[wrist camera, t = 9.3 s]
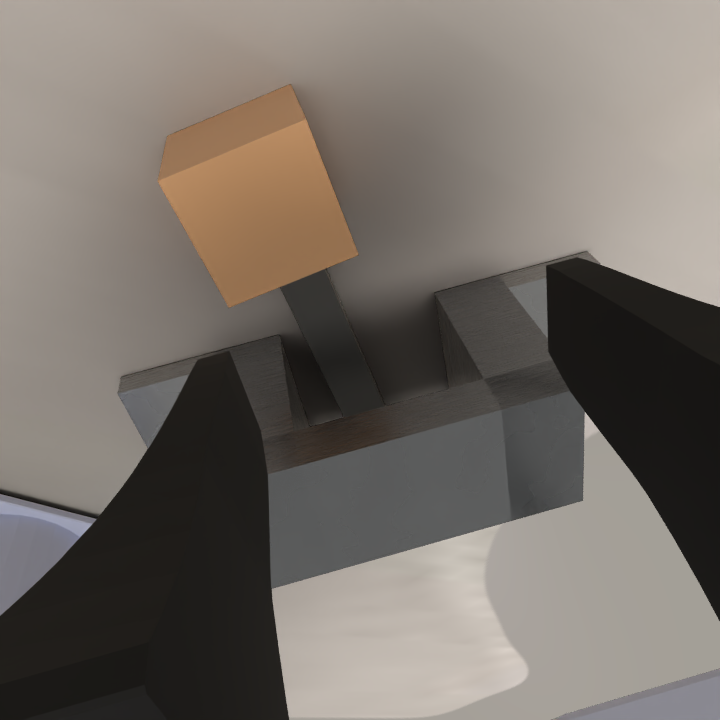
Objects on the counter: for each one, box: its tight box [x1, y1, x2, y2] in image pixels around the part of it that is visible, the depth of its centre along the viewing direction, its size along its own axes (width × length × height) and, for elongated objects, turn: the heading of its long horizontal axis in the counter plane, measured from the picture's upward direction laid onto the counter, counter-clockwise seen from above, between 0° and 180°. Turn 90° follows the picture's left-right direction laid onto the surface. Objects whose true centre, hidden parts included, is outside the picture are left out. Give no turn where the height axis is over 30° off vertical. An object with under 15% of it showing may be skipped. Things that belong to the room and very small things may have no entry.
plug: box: [158, 84, 385, 417], centre depth 22 cm, size 16×4×4 cm, turn 19°
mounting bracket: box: [118, 252, 600, 589], centre depth 23 cm, size 5×18×7 cm, turn 102°
